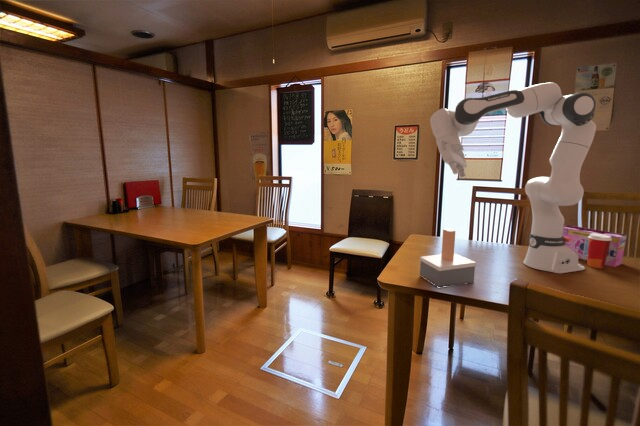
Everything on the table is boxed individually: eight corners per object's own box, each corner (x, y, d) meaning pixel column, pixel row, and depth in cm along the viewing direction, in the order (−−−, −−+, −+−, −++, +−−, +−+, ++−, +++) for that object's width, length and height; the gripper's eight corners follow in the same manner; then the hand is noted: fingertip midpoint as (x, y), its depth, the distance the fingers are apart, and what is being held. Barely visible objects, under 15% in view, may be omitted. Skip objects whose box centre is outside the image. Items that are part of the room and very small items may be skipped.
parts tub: (452, 272, 133) (453, 256, 132) (473, 283, 122) (475, 265, 120) (419, 276, 129) (420, 260, 128) (438, 288, 118) (439, 270, 116)
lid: (453, 259, 132) (456, 225, 130) (475, 269, 121) (478, 232, 118) (419, 263, 128) (421, 228, 125) (438, 274, 116) (441, 235, 113)
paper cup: (598, 263, 141) (602, 233, 138) (612, 269, 133) (617, 237, 130) (579, 262, 141) (583, 232, 139) (592, 269, 134) (597, 237, 131)
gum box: (552, 252, 156) (556, 226, 154) (560, 250, 160) (564, 224, 157) (615, 267, 136) (620, 237, 133) (622, 264, 139) (627, 234, 137)
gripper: (448, 135, 122) (459, 167, 118) (463, 147, 137) (474, 176, 134) (433, 143, 125) (443, 174, 122) (449, 153, 141) (459, 182, 137)
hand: (459, 175), depth 128 cm, fingers open, 8 cm apart
